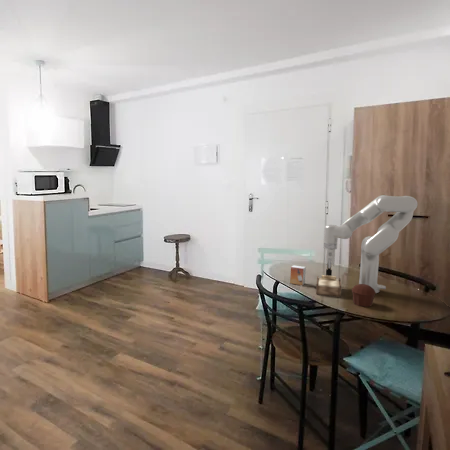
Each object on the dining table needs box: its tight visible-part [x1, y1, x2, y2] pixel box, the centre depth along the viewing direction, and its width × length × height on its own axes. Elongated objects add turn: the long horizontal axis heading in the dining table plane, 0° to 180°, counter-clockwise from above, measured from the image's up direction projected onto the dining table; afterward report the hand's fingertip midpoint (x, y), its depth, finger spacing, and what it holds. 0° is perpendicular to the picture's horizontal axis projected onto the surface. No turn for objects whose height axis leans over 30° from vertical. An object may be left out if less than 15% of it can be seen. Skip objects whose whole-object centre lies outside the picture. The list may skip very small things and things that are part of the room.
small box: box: [289, 264, 307, 286], centre depth 212 cm, size 8×6×10 cm
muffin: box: [351, 283, 377, 308], centre depth 179 cm, size 12×11×10 cm
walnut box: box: [315, 275, 342, 298], centre depth 198 cm, size 13×16×6 cm
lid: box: [318, 274, 340, 288], centre depth 197 cm, size 11×14×3 cm
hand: (328, 276), depth 207 cm, fingers closed
